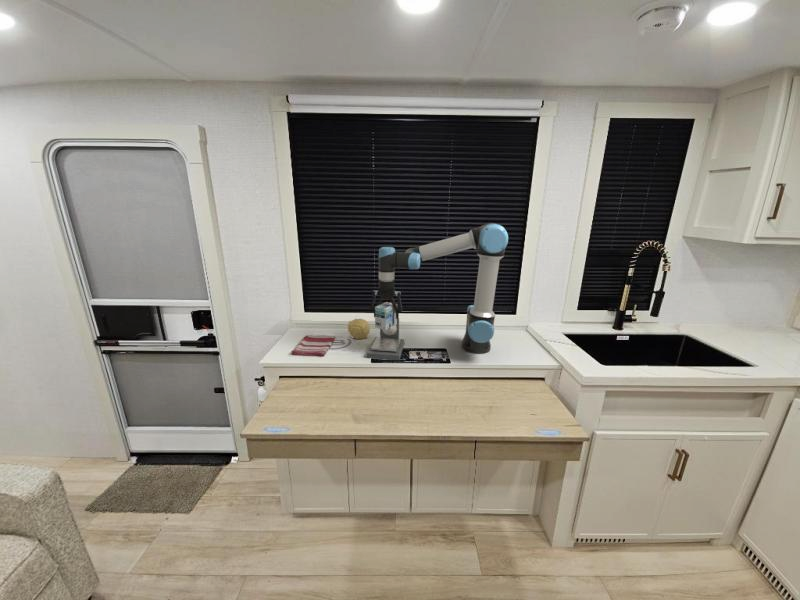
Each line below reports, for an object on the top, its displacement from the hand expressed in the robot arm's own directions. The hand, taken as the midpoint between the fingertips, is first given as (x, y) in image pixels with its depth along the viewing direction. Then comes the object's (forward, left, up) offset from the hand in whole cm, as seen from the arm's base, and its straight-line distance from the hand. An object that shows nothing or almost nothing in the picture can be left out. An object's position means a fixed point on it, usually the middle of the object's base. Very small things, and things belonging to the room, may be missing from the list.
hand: (386, 324), depth 162 cm
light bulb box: (0, 0, -1) cm, 1 cm away
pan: (0, 0, -12) cm, 12 cm away
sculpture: (+18, -16, -15) cm, 28 cm away
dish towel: (+38, 0, -16) cm, 41 cm away
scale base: (0, -1, -15) cm, 15 cm away
